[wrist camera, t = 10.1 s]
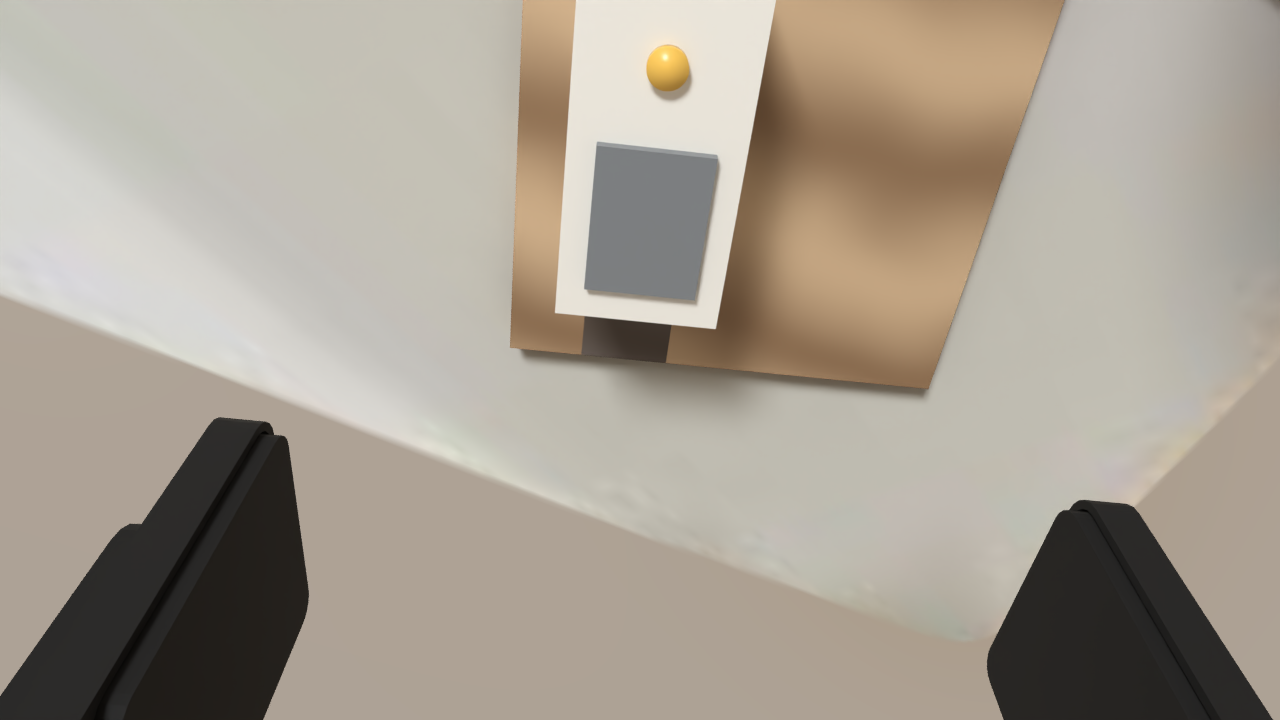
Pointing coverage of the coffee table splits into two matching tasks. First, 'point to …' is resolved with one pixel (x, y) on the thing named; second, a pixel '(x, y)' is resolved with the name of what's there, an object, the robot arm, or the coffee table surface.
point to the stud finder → (657, 155)
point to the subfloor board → (814, 187)
